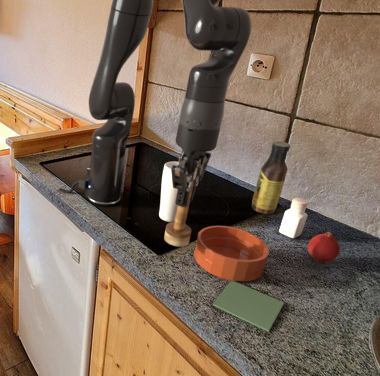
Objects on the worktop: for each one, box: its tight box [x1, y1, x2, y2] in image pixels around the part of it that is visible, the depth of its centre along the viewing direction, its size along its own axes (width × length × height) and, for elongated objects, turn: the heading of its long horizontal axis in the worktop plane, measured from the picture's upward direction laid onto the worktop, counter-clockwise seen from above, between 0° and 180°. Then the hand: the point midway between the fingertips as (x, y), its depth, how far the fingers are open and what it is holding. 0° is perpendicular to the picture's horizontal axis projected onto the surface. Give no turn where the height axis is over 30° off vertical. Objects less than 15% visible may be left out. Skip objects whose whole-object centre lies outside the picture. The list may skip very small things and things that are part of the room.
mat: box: [212, 280, 285, 333], centre depth 78 cm, size 10×10×1 cm
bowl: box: [193, 225, 270, 282], centre depth 89 cm, size 14×14×6 cm
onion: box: [307, 231, 341, 264], centre depth 90 cm, size 6×6×8 cm
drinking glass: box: [158, 161, 179, 223], centre depth 105 cm, size 7×7×15 cm
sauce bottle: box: [251, 140, 291, 215], centre depth 109 cm, size 6×6×20 cm
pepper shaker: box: [278, 197, 309, 239], centre depth 100 cm, size 4×4×10 cm
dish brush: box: [163, 181, 194, 248], centre depth 85 cm, size 5×5×14 cm
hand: (183, 203), depth 84 cm, fingers closed on dish brush
